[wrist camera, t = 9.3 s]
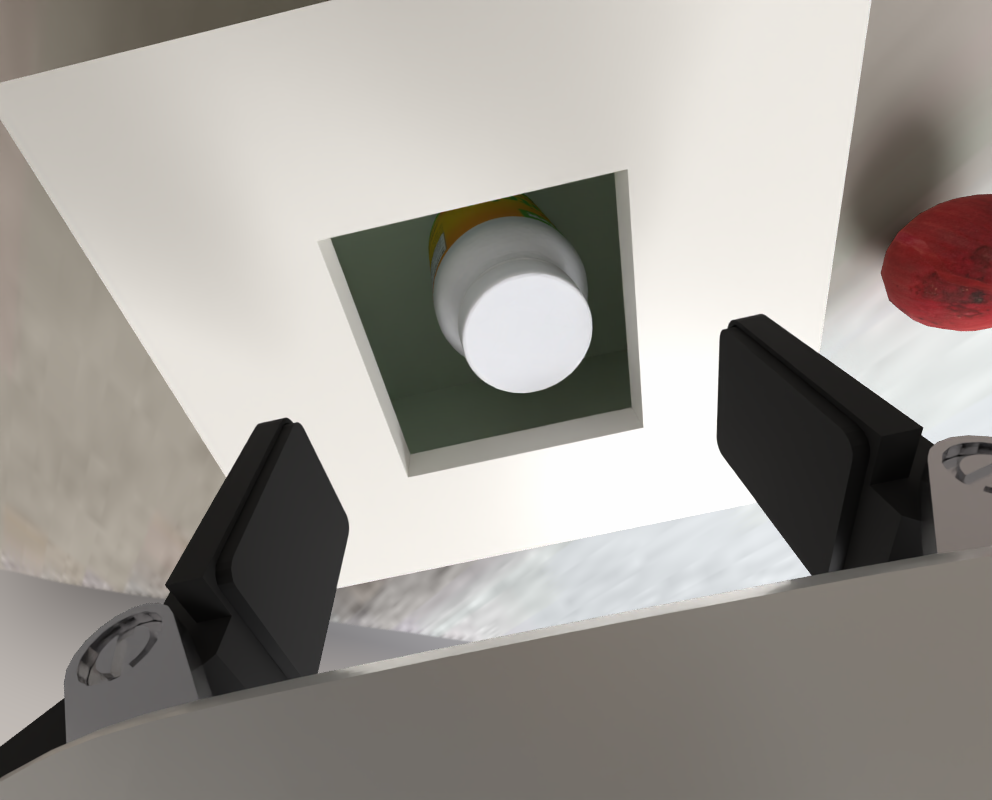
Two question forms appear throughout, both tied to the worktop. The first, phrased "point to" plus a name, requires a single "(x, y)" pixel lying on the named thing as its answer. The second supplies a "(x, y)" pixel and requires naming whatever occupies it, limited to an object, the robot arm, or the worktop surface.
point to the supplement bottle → (509, 293)
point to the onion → (944, 265)
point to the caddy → (446, 186)
